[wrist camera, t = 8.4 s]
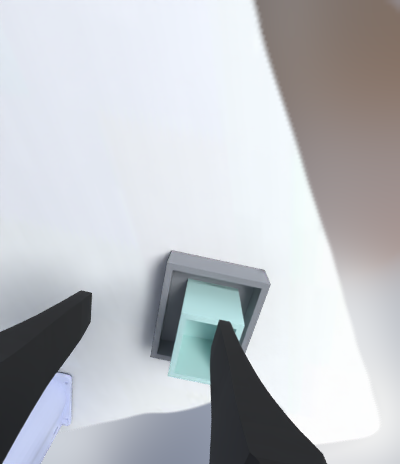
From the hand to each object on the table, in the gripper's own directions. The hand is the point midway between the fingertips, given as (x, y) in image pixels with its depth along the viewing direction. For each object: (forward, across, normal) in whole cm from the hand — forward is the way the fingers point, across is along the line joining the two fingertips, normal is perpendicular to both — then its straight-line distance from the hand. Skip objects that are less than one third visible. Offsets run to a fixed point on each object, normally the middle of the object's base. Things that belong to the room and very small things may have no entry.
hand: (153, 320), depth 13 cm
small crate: (+9, -4, +6) cm, 12 cm away
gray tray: (+10, -4, +6) cm, 12 cm away
